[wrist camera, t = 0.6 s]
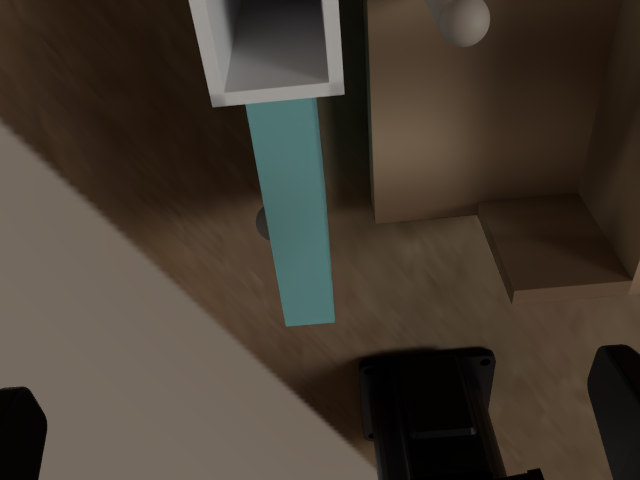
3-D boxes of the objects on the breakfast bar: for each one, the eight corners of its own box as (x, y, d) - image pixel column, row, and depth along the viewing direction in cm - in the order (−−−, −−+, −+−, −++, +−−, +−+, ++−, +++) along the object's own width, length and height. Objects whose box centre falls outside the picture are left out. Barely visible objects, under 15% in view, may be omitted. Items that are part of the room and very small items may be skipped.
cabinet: (576, 180, 23) (647, 293, 18) (371, 199, 23) (390, 315, 19) (654, -165, 16) (801, -123, 11) (357, -134, 16) (383, -79, 12)
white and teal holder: (343, 180, 23) (359, 320, 17) (266, 187, 23) (257, 328, 17) (321, -121, 16) (334, -48, 11) (214, -109, 16) (175, -32, 11)
